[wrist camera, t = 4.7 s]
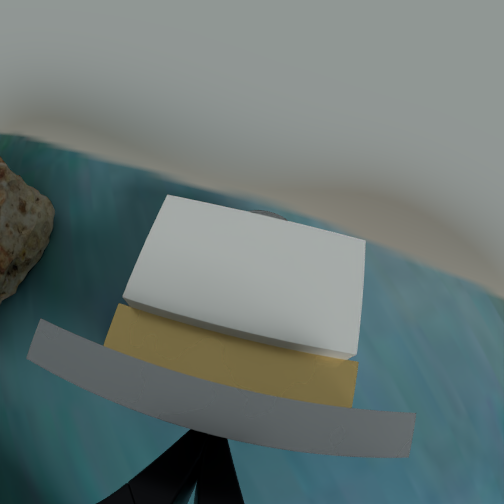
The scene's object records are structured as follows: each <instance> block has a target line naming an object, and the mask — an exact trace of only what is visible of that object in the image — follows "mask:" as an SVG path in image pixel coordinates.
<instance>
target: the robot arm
mask: <svg viewBox="0 0 504 504" xmlns="http://www.w3.org/2000/svg"><path fill="white" fill-rule="evenodd" d="M196 482H197V484H196ZM195 485H196V490H195V498H194V504H244V500H243V497H242V493H241V490H240V486H239V482H238V479H237V475H236V471H235V467H234V464H233V460H232V456H231V452H230V448H229V444H228V440H227V438H223V437H219V436H215V435H211V434H207V433H203V432H200V431H196V430H193V429H190V430H189V431H188V432H187V433H186V434H184V435H183V436H182V437H181V438H180V439H179V440H178V441H177V442H175V443H174V444H173V445H172V446H171V447H170V448H169V449H167V450H166V451H165V452H164V453H163V454H162V455H160V456H159V457H158V458H157V459H156V460H154V461H153V462H152V463H151V464H150V465H148V466H147V467H146V468H145V469H144V470H142V471H141V472H140V473H139V474H137V475H136V476H135V477H134V478H133V479H131V480H130V481H129V482H128V483H126V484H125V485H123V486H122V487H121V488H120V489H118V490H117V491H116V492H114V493H113V494H111V495H110V496H108V497H107V498H105V499H104V500H102V501H100V502H98V503H97V504H187V503H188V501H189V499H190V497H191V494H192V492H193V490H194V488H195Z"/></svg>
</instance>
